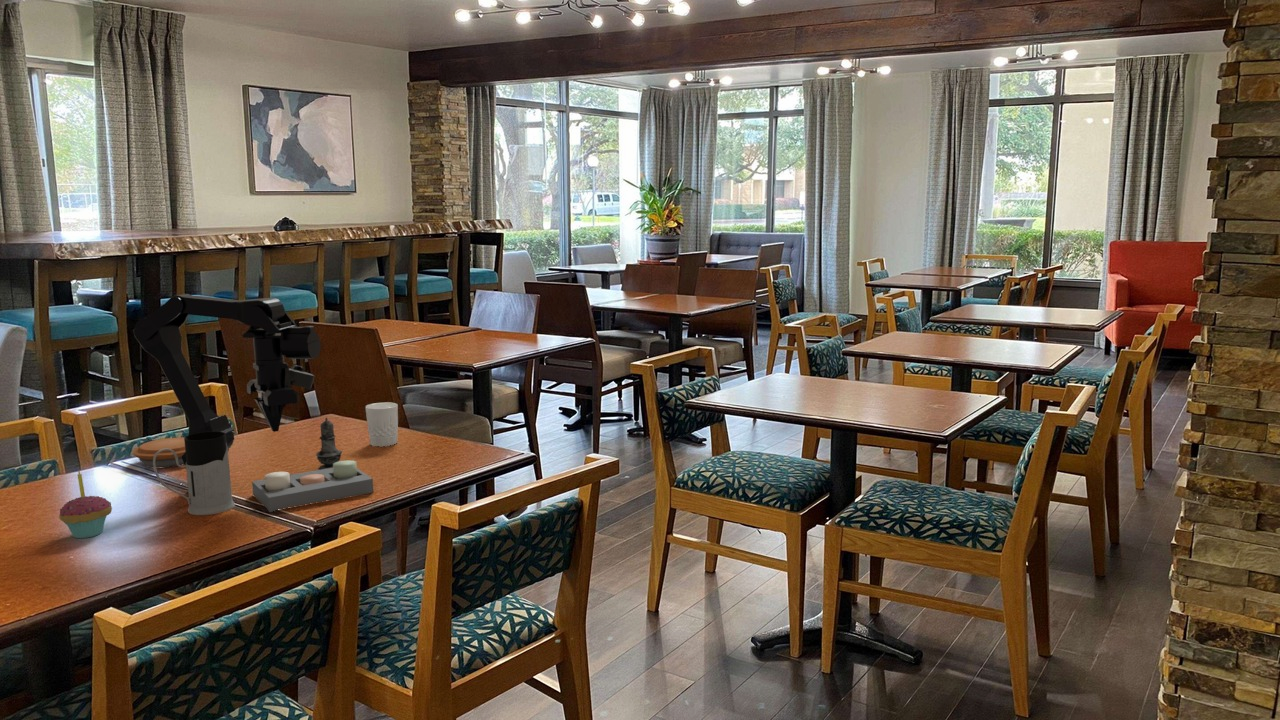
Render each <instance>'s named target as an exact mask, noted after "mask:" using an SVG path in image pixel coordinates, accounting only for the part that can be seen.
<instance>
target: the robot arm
mask: <svg viewBox="0 0 1280 720" xmlns="http://www.w3.org/2000/svg"><path fill="white" fill-rule="evenodd" d="M285 309H286V308H285V306H284V304H283V303H282V301H281V300H280V299H278V298H277V297H276V298H275V297H265V298H263V297H262V298H254V299H253V298H252V299H243V300H239V299H231V298H230V299H229V298H221V297H211V296H199V295H192V294H190V293H183V294H175V295H173V296H171V297H170V298H169V299H168V300H167V301H166V302H165V303H164V304H163V305H161V306H159V307H158V308H157V309H154V310H153V311H152V312H150V313H149V314H148V315H147V316H146V317H143V318H139V320H137V322H136V323H135V325H134V329H133V330H132V331H133V335H134V338H135V339H136V340H137V342H138V343H139V345H140V346H141V348H142V349H143V350H144V351H145V352H146V353H148V354H149V355H150V356H152V357H153V358H154V359H155V360H156V361H157V362H158V364H159V366H160V368H161V369H162V371H163V373H164V375H165V377H166V379H167V381H168V382H169V385H170V387H171V390H172V391H173V393H174V395H175V397H176V399H177V400H178V402H179V405H180V406H181V409H182V411H183V412H184V414H185V416H186V418H187V419H188V435H191V434H195V433H200V432H211V431H218V432H224V433H225V435H226V443H227V447H228V452H229V451H230V448H231V447H232V446H233V443H234V440H235V435H234V432H235V429H234V428H233V427H232V425H231V424H230V421H229V417H228V416H227V415H226V414H225V413H224V414H221V415H218V414H216V413H215V412H214V411H213V410H212V409H211V407H210V405H209V402H208V401H207V399H206V398H205V395H204V392H203V391H202V389H201V387H200V385H199V383H198V381H197V379H196V378H195V376H194V374H193V371H192V370H191V368H190V366H189V364H188V362H187V359H186V358H185V356H184V354H183V352H182V334H181V332H180V328H181V327H182V326H183V325H184V324H185V323H186V322H187V320H188V318H189V316H190V315H191V316H200V317H209V318H210V317H211V318H221V319H227V320H228V319H229V320H233V321H234V320H235V321H237V322H239V323H241V324H243V325H246V326H249V327H248V329H247V330H246V331H245V332H244V333H243V334H242V338H244V339H252V341H253V343H252V345H253V353H254V354H253V355H254V362H253V363H252V368H253V369H254V370H255V376H256V378H255V379H250V380H249V381H248V382H247V383H246V392H247V394H249V395H254V393H255V392H257V394H258V396H257V397H255V398H254V399H253V400H254V401H255V403H256V405H257V406H258V408H259V409H260V412H261V414H262V415H263V417H264V418H265V420H266V422H267V424H268V425H269V427H270V429H271V431H272V432H273V433H274V432H276V433H277V432H279V430H280V425H281V422H282V415H283V411H284V407H286V406H287V405H290V404H291V405H292V404H298V403H300V396H299V395H300V393H299V392H297V391H296V390H295V389H293V388H292V386H294V387H295V386H296V387H300V388H304V389H306V390H309V391H310V390H311V389H312V386H313V383H314V380H315V375H314V374H312V373H309V372H307V371H304V368H303V366H300V365H297V364H293V366H291V367H290V366H289V364H288V363H287V362H285V357H286V358H287V359H292V360H293V359H294V360H302V359H303V360H306V359H308V360H310V359H311V360H312V359H313V360H316V359H317V358H318V357H319V356H320V355H321V354H320V353H321V349H322V348H321V347H322V346H321V345H322V342H321V339H320V337H319V335H318V333H317V332H316V331H315V326H314V325H306V326H298V325H297V323H295V321H293V319H292V318H291V317H290V315H289V314H288V312H286V310H285ZM188 435H187V436H188ZM182 460H183V462H184V465H186V452H185V453H184V454H183V455H182Z"/></svg>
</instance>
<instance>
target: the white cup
mask: <svg viewBox="0 0 1280 720" xmlns="http://www.w3.org/2000/svg"><path fill="white" fill-rule="evenodd" d="M398 407H399V406H398V403H397V402H396V403H395V402H389V401H387V402H376V403H369V404H367V405H365V413H366V414H365V415H366V423H367V432H368V435H369V444H370V446H371V445H372V447H375V446H379V447H378V448H380V447H381V448H383V446H385V447H391V446H395V445H396V443H397V444H398V442H399V441H398V432H399V428H398V426H399V413H398V412H399V410H398V409H399V408H398ZM394 444H395V445H394ZM390 445H391V446H390Z"/></svg>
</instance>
